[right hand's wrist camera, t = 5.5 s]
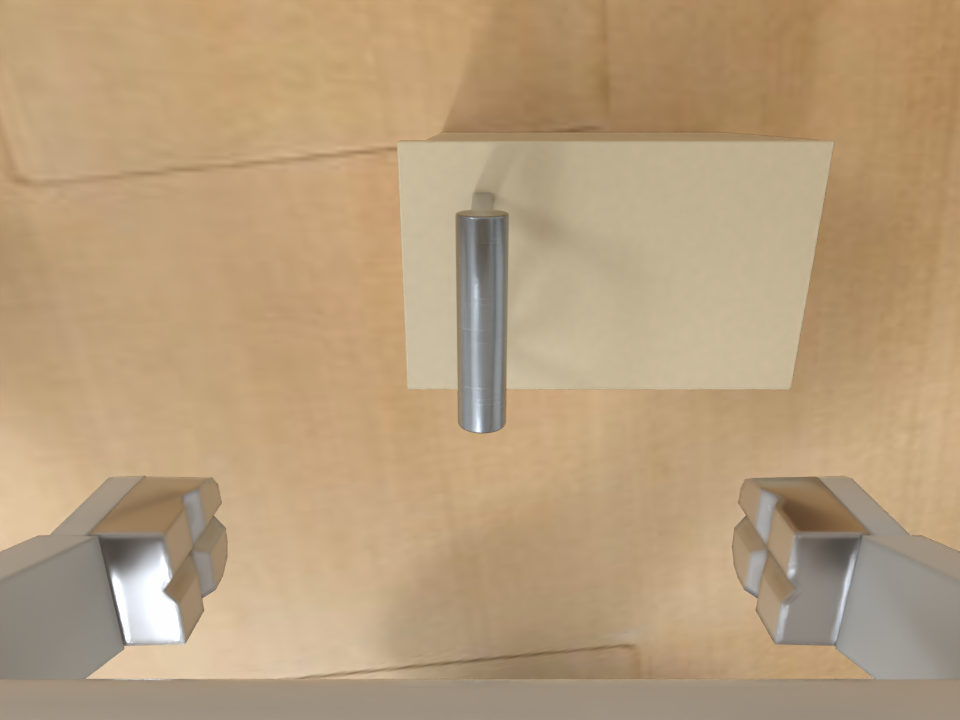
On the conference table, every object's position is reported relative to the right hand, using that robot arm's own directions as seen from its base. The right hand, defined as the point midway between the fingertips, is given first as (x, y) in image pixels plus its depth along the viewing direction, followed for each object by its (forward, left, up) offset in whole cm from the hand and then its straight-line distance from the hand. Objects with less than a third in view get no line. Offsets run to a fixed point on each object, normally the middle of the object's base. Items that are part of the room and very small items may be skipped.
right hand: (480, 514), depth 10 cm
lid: (+3, +4, -17) cm, 18 cm away
